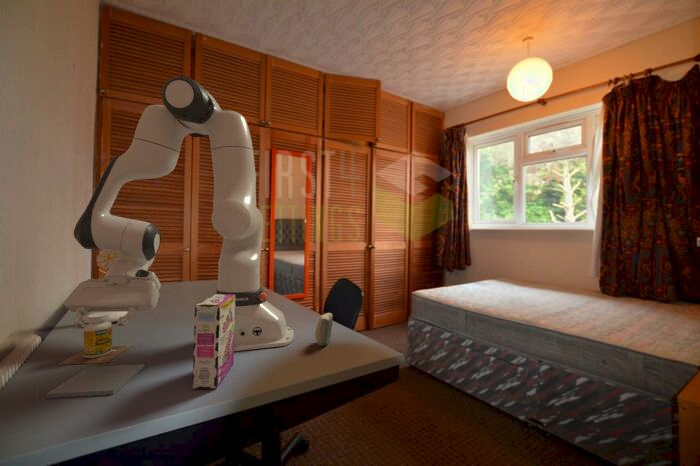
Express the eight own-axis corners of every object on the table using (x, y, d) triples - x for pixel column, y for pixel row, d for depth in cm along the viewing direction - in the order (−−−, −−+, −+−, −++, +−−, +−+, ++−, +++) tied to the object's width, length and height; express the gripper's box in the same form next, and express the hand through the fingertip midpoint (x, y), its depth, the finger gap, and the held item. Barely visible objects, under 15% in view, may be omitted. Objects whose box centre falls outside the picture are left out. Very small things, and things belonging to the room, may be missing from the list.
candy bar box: (218, 389, 59) (219, 305, 59) (191, 390, 58) (192, 305, 58) (235, 364, 70) (236, 293, 70) (212, 364, 70) (213, 293, 70)
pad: (144, 367, 67) (144, 364, 67) (113, 394, 56) (113, 390, 56) (89, 370, 66) (89, 366, 66) (46, 398, 55) (46, 393, 55)
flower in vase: (74, 324, 96) (75, 245, 96) (112, 315, 107) (113, 244, 107) (104, 329, 92) (105, 246, 92) (140, 319, 103) (141, 245, 103)
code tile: (132, 346, 79) (132, 345, 79) (107, 362, 69) (107, 362, 69) (89, 347, 78) (89, 347, 78) (58, 364, 68) (58, 364, 68)
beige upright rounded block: (337, 346, 82) (337, 316, 82) (318, 349, 80) (319, 318, 80) (330, 339, 87) (330, 311, 87) (312, 341, 85) (313, 313, 85)
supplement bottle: (101, 348, 77) (101, 311, 77) (117, 351, 76) (118, 312, 76) (77, 357, 72) (77, 316, 72) (94, 360, 70) (95, 318, 70)
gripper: (76, 272, 80) (44, 319, 71) (160, 272, 83) (139, 318, 74) (88, 285, 85) (59, 332, 75) (167, 285, 88) (149, 330, 78)
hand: (100, 325), depth 75 cm, fingers open, 8 cm apart
